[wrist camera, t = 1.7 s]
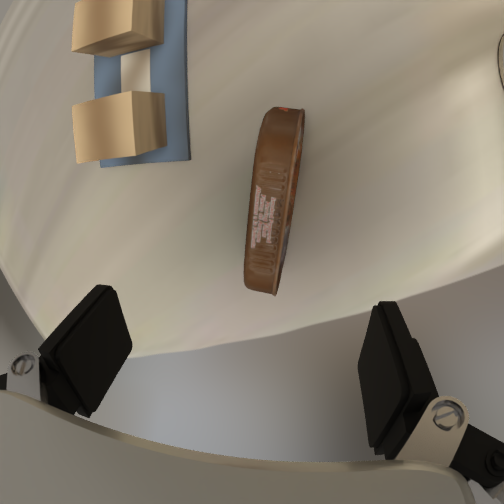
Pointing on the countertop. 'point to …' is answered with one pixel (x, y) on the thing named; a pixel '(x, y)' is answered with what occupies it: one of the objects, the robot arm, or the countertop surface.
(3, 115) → the countertop surface
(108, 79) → the bridge base
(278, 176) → the tin
